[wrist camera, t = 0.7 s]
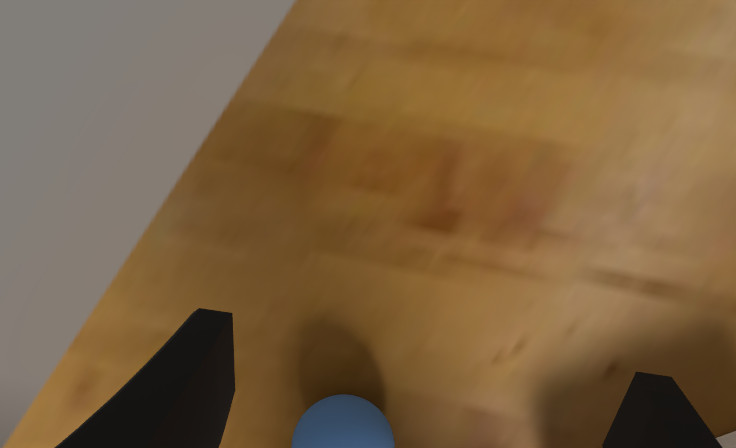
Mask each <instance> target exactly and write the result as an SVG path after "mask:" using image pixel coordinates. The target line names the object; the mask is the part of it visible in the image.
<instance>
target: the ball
mask: <svg viewBox="0 0 736 448" xmlns="http://www.w3.org/2000/svg"><path fill="white" fill-rule="evenodd" d="M291 448H395V443H394V437H393V432H392V429H391V427H390V424H389V422H388V420H387V419H386V417H385V416H384V414H383V413H382V412H381V411H380V410H379V409H378V408H377V407H376V406H375V405H374V404H372V403H371V402H369V401H367V400H365V399H363V398H361V397H358V396H354V395H346V394H341V395H333V396H329V397H326V398H324V399H322V400H320V401H318V402H316V403H315V404H313V405H312V406H311V407H310V408H309V409H308V410H307V411H306V412H305V413H304V414H303V415H302V417H301V418H300V420H299V422H298V424H297V426H296V428H295V431H294V434H293V438H292V446H291Z"/></svg>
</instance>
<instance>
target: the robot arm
mask: <svg viewBox="0 0 736 448" xmlns="http://www.w3.org/2000/svg"><path fill="white" fill-rule="evenodd" d="M234 392H235V372H234V345H233V317H232V313H228V312H221V311H214V310H208V309H201V308H199V309H197V310H196V311H194V312H193V313H192V314H191V316H190V317H189V318H188V319H187V320H186V321H185V322H184V323H183V325H182V326H181V327H180V328H179V329H178V330H177V331H176V332H175V334H174V335H173V336H172V337H171V338H170V339H169V340H168V341H167V342H166V343H165V344H164V346H163V347H162V348H161V349H160V350H159V351H158V352H157V353H156V354H155V355H154V356H153V357H152V358H151V359H150V360H149V361H148V362H147V363H146V364H145V365H144V366H143V367H142V368H141V369H140V370H139V371H138V372H137V373H136V374H135V375H134V376H133V377H132V378H131V379H130V380H129V381H128V382H127V383H126V384H125V385H124V386H123V387H122V388H121V389H120V390H119V391H118V392H117V393H116V394H115V395H114V396H113V397H112V398H111V399H110V400H109V401H108V402H106V403H105V404H104V405H103V406H102V407H101V408H100V409H99V410H97V411H96V412H95V413H94V414H93V415H92V416H91V417H90V418H89V419H87V420H86V421H85V422H84V423H83V424H82V425H81V426H80V427H79V428H77V429H76V430H75V431H74V432H73V433H72V434H71V435H69V436H68V437H67V438H66V439H65V440H63V441H62V442H61V443H60V444H59V445H57V446H56V447H55V448H218V447H219V445H220V442H221V439H222V436H223V432H224V429H225V425H226V422H227V418H228V414H229V411H230V407H231V403H232V400H233V396H234ZM603 448H722V446H721V445H720V443H719V442H718V441H717V439H716V438H715V437H714V435H713V434H712V432H711V431H710V430H709V428H708V427H707V426H706V424H705V423H704V421H703V420H702V419H701V417H700V416H699V414H698V413H697V412H696V410H695V409H694V407H693V406H692V405H691V403H690V402H689V400H688V399H687V398H686V396H685V395H684V394H683V392H682V391H681V389H680V388H679V387H678V385H677V384H676V382H675V381H674V380H673V378H672V377H669V376H662V375H655V374H648V373H641V372H636V373H635V375H634V378H633V380H632V382H631V384H630V386H629V388H628V391H627V393H626V395H625V397H624V399H623V402H622V404H621V406H620V408H619V410H618V413H617V415H616V417H615V419H614V421H613V423H612V426H611V428H610V430H609V432H608V434H607V437H606V439H605V441H604V443H603Z"/></svg>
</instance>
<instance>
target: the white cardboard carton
mask: <svg viewBox="0 0 736 448" xmlns="http://www.w3.org/2000/svg"><path fill="white" fill-rule="evenodd" d="M716 439H717V441H718V442H719V443H720V445H721V446H722V448H736V431H734V432H731V433H728V434H725V435H723V436H720V437H717V438H716Z"/></svg>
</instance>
